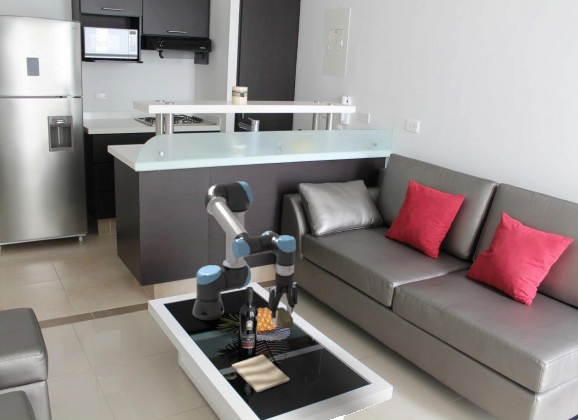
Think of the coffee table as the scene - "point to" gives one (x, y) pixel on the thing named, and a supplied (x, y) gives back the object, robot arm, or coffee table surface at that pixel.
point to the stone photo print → (260, 373)
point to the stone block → (284, 318)
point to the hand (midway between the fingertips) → (281, 321)
